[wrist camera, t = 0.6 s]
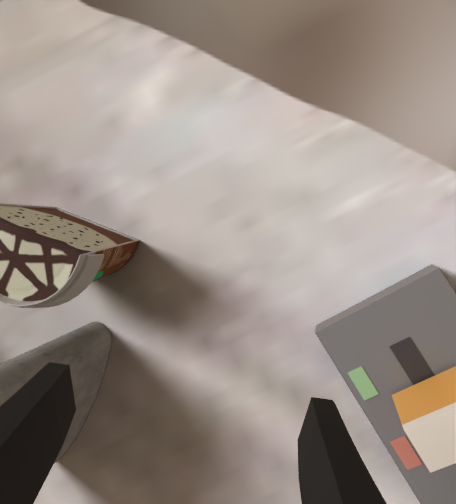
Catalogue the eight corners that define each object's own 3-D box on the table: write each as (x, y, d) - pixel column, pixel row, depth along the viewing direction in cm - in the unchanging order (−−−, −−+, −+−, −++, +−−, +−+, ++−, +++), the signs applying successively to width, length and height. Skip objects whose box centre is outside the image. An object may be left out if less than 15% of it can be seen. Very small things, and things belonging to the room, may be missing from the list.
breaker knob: (481, 402, 27) (512, 441, 22) (413, 430, 28) (430, 472, 24) (457, 365, 27) (483, 396, 22) (391, 394, 28) (403, 430, 24)
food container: (28, 261, 38) (-72, 276, 29) (42, 202, 37) (-57, 197, 28) (135, 307, 36) (64, 341, 26) (154, 245, 35) (87, 257, 25)
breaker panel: (551, 450, 28) (568, 468, 26) (422, 497, 31) (428, 517, 29) (431, 264, 29) (439, 268, 27) (316, 325, 32) (315, 333, 30)
